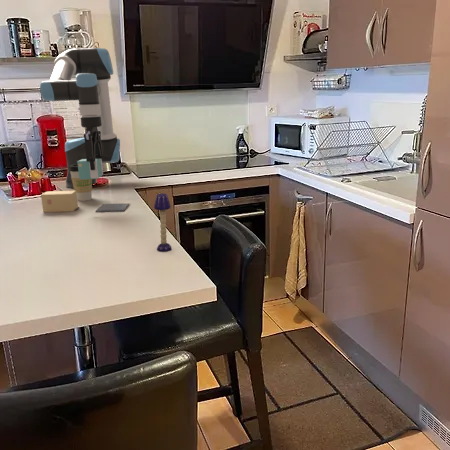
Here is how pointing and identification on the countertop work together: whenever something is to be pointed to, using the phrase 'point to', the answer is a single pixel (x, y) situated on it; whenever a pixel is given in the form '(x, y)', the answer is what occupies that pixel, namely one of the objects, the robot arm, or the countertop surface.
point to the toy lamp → (162, 220)
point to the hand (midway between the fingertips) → (97, 176)
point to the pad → (112, 207)
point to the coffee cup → (81, 184)
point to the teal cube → (87, 169)
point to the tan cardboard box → (59, 201)
